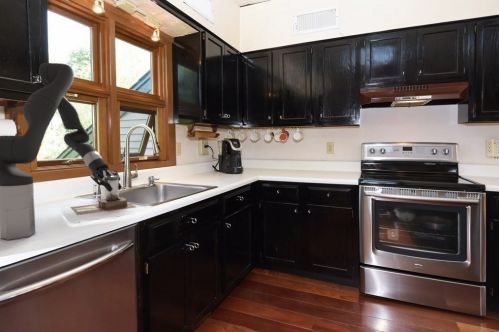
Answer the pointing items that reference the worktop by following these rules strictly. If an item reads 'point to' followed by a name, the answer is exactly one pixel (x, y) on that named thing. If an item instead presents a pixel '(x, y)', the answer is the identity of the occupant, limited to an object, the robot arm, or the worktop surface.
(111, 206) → the bore block
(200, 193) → the worktop surface
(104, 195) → the beer glass
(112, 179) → the grey mottled cylinder
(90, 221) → the worktop surface
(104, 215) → the worktop surface
